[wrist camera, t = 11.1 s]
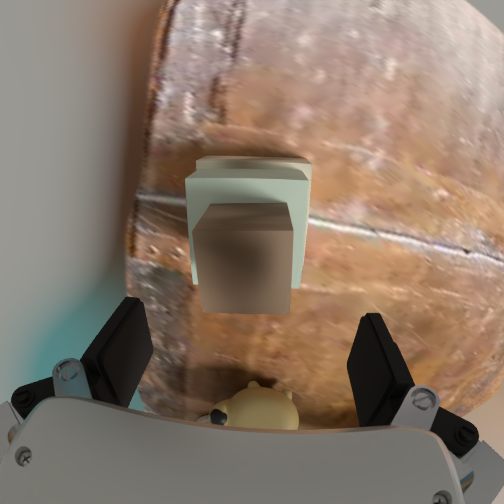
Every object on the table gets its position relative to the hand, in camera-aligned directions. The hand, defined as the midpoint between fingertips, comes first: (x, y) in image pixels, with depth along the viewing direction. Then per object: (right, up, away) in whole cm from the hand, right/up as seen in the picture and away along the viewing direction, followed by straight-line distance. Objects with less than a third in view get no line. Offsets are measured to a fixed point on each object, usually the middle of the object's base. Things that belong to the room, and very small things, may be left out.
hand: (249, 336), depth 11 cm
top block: (0, +6, +12) cm, 13 cm away
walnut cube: (0, +4, +8) cm, 9 cm away
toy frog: (+1, -17, +27) cm, 31 cm away
